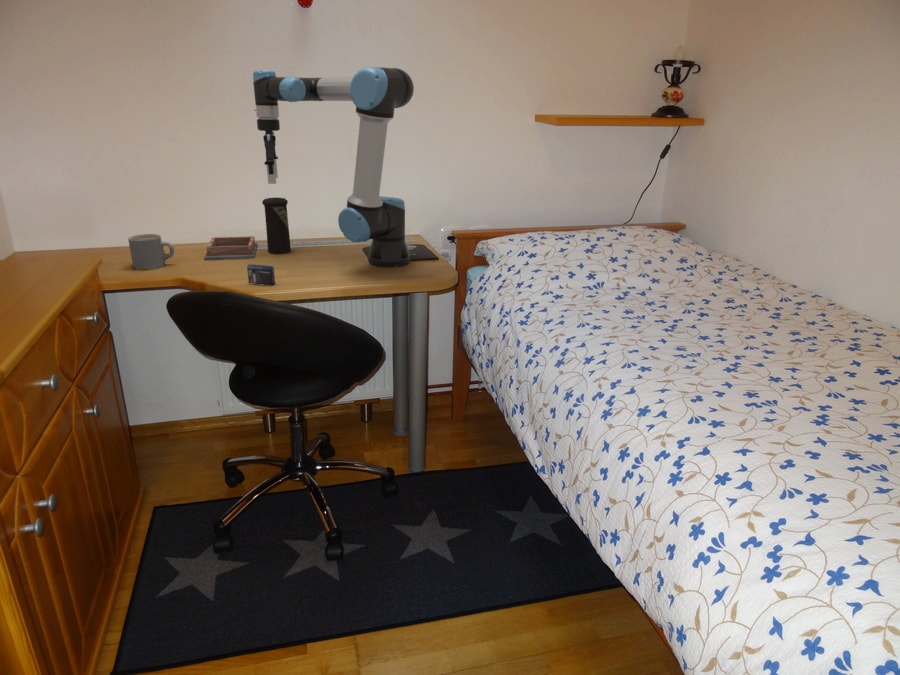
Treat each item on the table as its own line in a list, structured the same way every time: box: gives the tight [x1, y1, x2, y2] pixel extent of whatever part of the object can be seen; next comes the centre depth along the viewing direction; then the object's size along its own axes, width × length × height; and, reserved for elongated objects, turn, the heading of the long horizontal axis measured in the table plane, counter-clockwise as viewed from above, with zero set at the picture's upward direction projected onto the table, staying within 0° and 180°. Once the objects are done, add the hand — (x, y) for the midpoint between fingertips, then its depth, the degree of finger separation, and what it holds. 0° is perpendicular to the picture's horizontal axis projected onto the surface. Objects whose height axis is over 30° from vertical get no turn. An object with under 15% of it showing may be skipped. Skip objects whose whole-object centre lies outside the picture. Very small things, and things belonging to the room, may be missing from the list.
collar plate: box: [203, 236, 259, 261], centre depth 229 cm, size 20×17×4 cm
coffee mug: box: [128, 233, 175, 270], centre depth 210 cm, size 13×10×10 cm
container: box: [261, 197, 292, 255], centre depth 229 cm, size 9×9×20 cm
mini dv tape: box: [246, 263, 276, 286], centre depth 195 cm, size 8×2×6 cm, turn 80°
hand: (273, 180), depth 223 cm, fingers open, 13 cm apart
